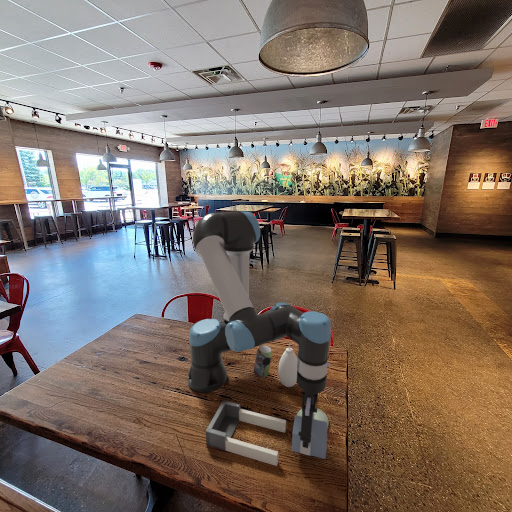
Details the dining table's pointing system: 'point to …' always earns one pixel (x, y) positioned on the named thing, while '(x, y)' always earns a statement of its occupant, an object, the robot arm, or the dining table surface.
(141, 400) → the dining table surface
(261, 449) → the channel
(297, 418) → the painted block
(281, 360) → the sauce bottle
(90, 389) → the dining table surface
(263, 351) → the beverage can
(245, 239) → the robot arm
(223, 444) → the bin
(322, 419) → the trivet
